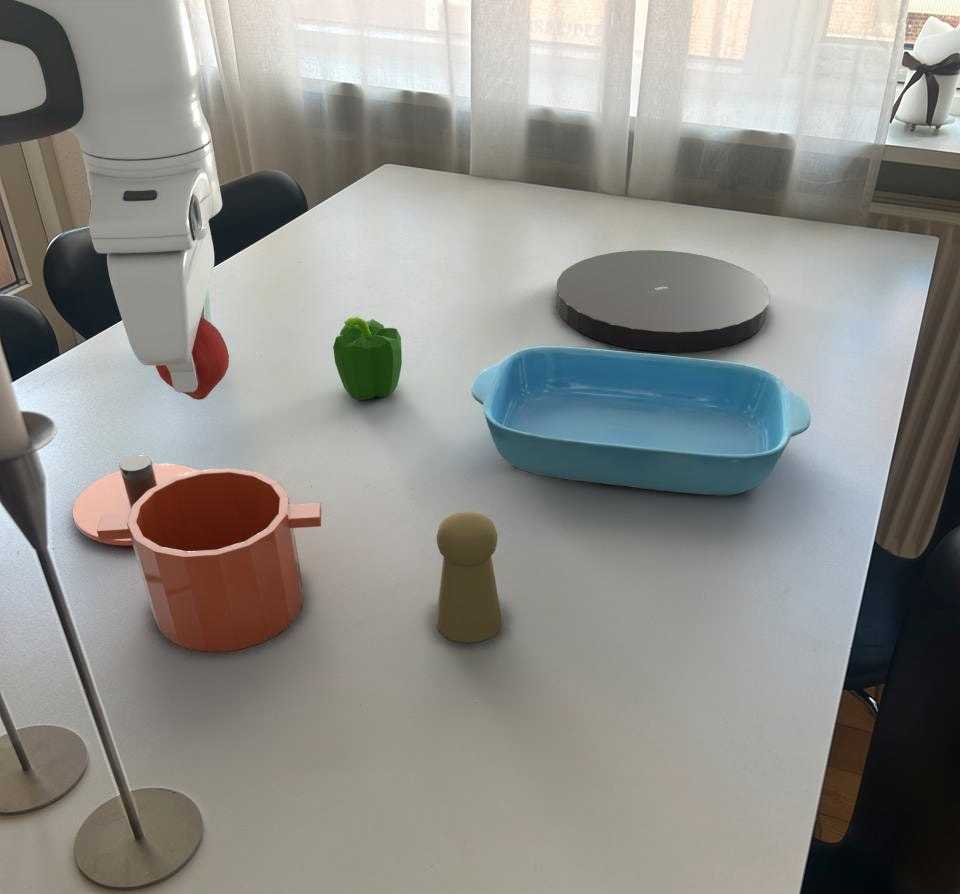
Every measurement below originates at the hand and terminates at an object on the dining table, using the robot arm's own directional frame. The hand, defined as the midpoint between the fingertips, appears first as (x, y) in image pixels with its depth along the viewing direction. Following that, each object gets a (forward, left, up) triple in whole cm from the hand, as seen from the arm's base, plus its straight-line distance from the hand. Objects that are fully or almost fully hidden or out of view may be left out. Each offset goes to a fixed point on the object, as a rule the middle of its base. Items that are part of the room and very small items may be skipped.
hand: (192, 367), depth 80 cm
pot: (-1, -2, -23) cm, 23 cm away
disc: (+55, +60, -23) cm, 85 cm away
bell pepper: (+13, +39, -23) cm, 47 cm away
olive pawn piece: (+21, -7, -23) cm, 32 cm away
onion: (0, 0, -3) cm, 3 cm away
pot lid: (-11, +15, -22) cm, 29 cm away
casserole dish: (+43, +21, -23) cm, 53 cm away
